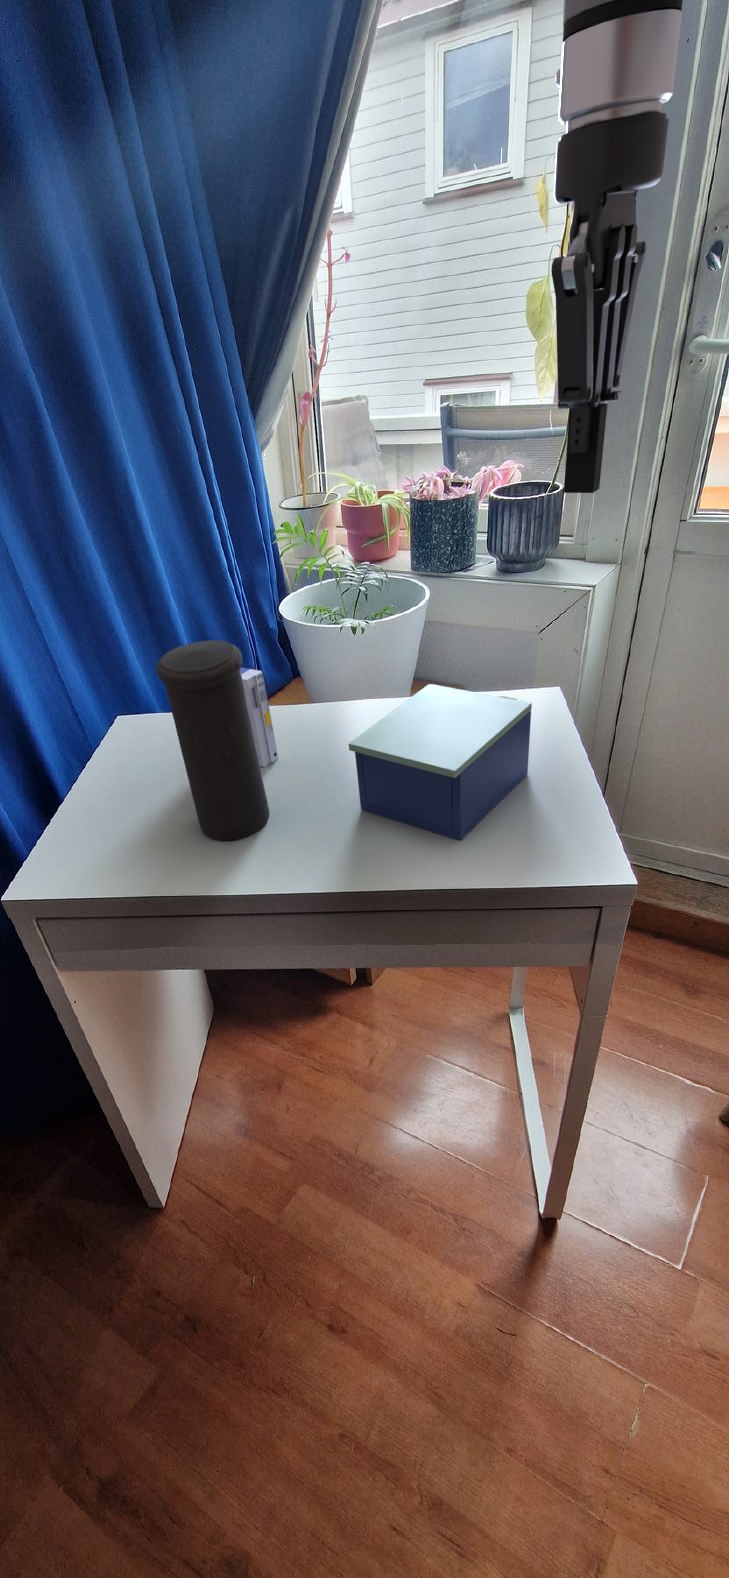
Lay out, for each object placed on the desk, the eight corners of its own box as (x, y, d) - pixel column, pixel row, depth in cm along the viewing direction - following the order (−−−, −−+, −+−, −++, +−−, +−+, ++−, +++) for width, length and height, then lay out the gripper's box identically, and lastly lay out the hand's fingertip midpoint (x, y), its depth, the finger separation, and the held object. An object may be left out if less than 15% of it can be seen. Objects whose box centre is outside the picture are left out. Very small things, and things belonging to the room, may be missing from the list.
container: (277, 797, 89) (246, 629, 76) (267, 841, 82) (230, 664, 70) (207, 801, 91) (164, 637, 78) (191, 845, 84) (142, 672, 71)
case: (460, 840, 78) (460, 774, 73) (360, 809, 85) (354, 746, 80) (527, 774, 86) (531, 710, 81) (431, 751, 93) (429, 690, 88)
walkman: (220, 756, 99) (199, 668, 91) (234, 746, 101) (215, 659, 93) (265, 768, 95) (247, 677, 87) (279, 758, 96) (263, 668, 89)
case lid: (455, 778, 72) (455, 771, 72) (349, 750, 79) (348, 743, 79) (531, 709, 81) (532, 702, 80) (429, 690, 88) (429, 683, 87)
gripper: (596, 134, 59) (570, 473, 74) (521, 132, 52) (510, 509, 67) (697, 108, 55) (649, 473, 70) (632, 103, 48) (593, 511, 63)
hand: (581, 490), depth 68 cm, fingers closed
